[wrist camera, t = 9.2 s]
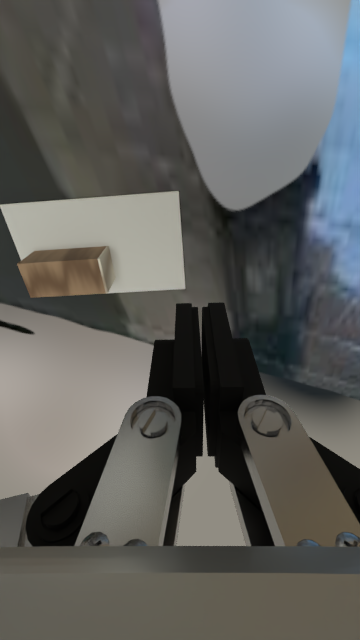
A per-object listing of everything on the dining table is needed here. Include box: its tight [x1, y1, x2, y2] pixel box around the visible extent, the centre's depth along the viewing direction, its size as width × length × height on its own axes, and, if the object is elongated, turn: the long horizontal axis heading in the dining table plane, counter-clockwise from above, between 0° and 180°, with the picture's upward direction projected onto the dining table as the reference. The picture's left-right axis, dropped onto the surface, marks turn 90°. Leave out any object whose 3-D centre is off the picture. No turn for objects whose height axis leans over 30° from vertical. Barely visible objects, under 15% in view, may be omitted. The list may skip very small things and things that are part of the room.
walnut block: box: [17, 246, 115, 298], centre depth 40 cm, size 5×5×11 cm
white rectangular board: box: [0, 191, 185, 293], centre depth 41 cm, size 14×24×1 cm, turn 94°
